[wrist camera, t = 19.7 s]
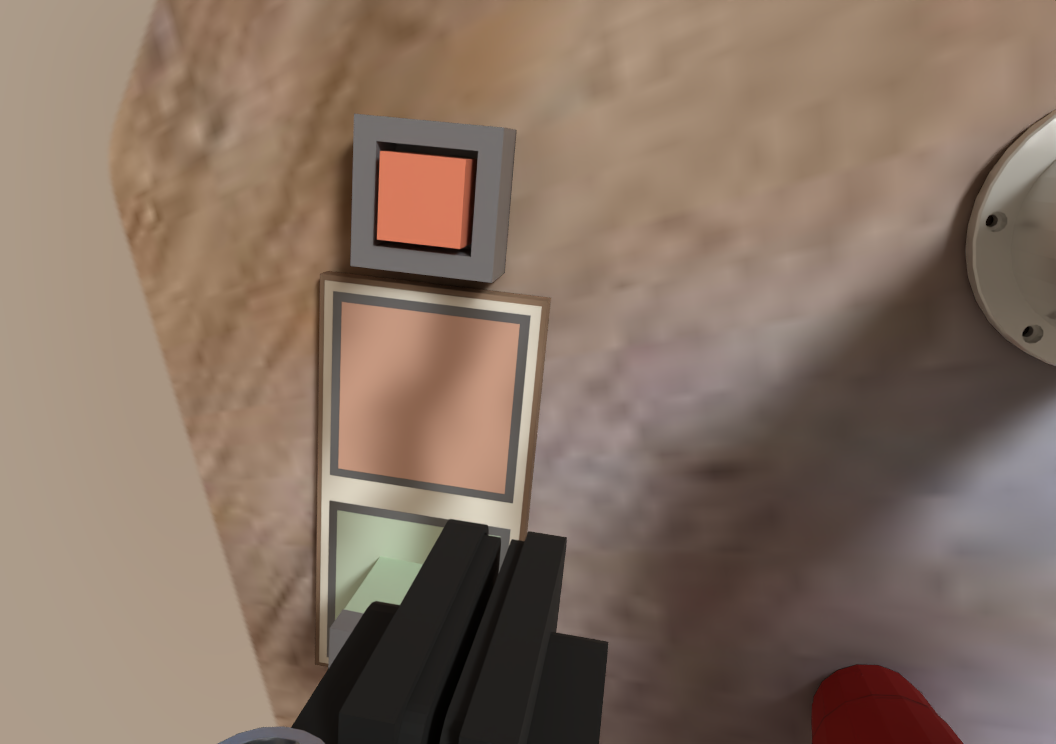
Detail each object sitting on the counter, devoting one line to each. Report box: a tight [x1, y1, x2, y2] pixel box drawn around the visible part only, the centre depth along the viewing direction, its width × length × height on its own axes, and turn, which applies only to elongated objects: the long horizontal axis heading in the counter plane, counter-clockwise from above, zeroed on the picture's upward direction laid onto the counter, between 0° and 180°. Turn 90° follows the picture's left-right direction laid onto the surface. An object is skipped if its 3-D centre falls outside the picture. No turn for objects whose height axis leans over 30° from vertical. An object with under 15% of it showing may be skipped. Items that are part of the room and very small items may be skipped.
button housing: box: [350, 114, 516, 283], centre depth 37 cm, size 7×7×3 cm
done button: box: [377, 151, 478, 249], centre depth 36 cm, size 4×4×3 cm
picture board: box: [315, 271, 551, 667], centre depth 43 cm, size 12×24×1 cm, turn 175°
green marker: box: [328, 556, 423, 669], centre depth 40 cm, size 4×4×7 cm
